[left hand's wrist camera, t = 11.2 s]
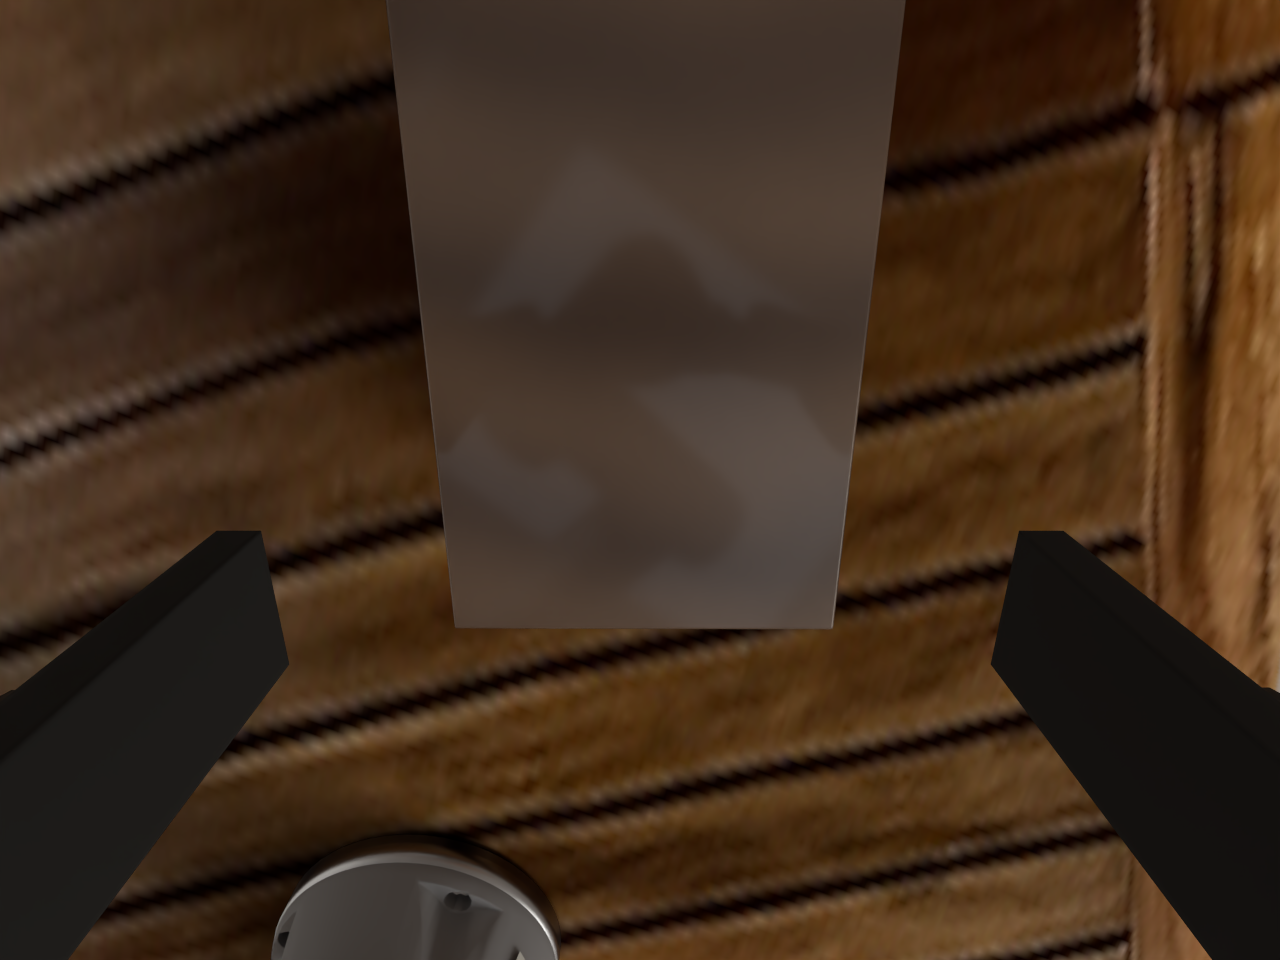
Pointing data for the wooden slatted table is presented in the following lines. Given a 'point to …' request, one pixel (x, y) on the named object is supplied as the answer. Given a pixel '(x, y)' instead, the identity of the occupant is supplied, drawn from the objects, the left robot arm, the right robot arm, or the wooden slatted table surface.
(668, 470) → the cabinet
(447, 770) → the wooden slatted table surface
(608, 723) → the wooden slatted table surface
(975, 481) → the wooden slatted table surface
